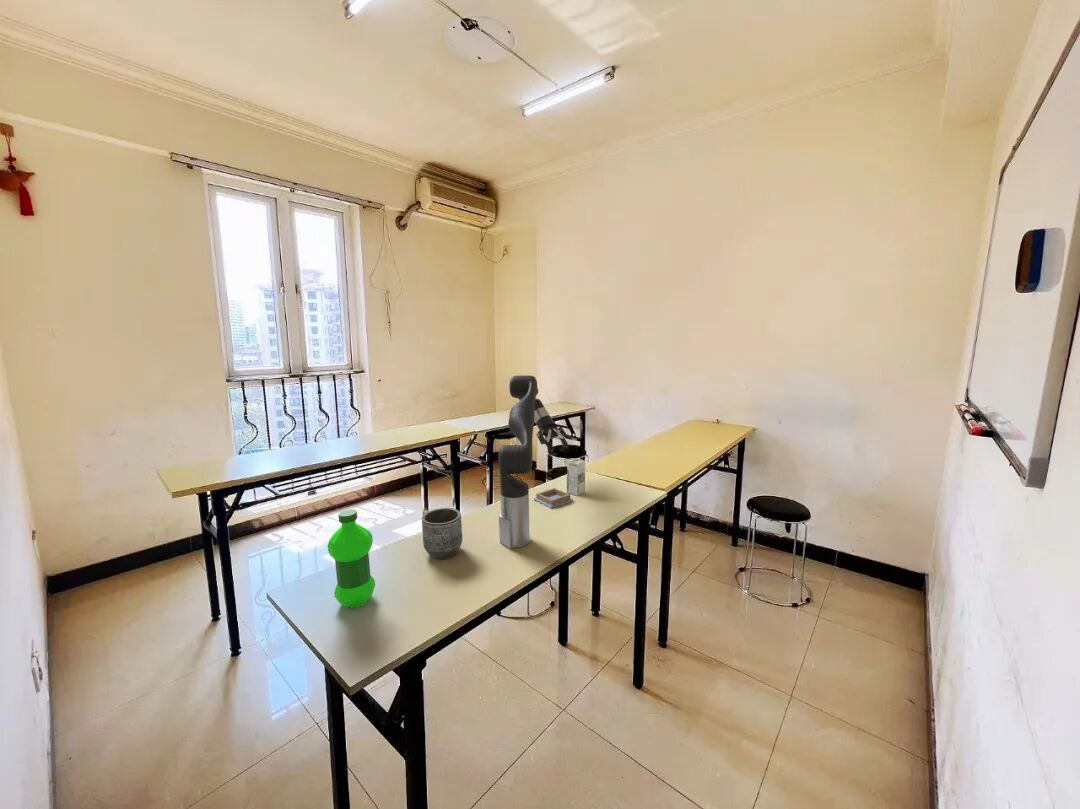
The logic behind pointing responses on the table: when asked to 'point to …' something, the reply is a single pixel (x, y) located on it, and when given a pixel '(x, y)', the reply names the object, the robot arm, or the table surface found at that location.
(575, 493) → the syrup box
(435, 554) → the planter
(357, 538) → the plastic bottle
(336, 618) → the table surface
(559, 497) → the footing plate
